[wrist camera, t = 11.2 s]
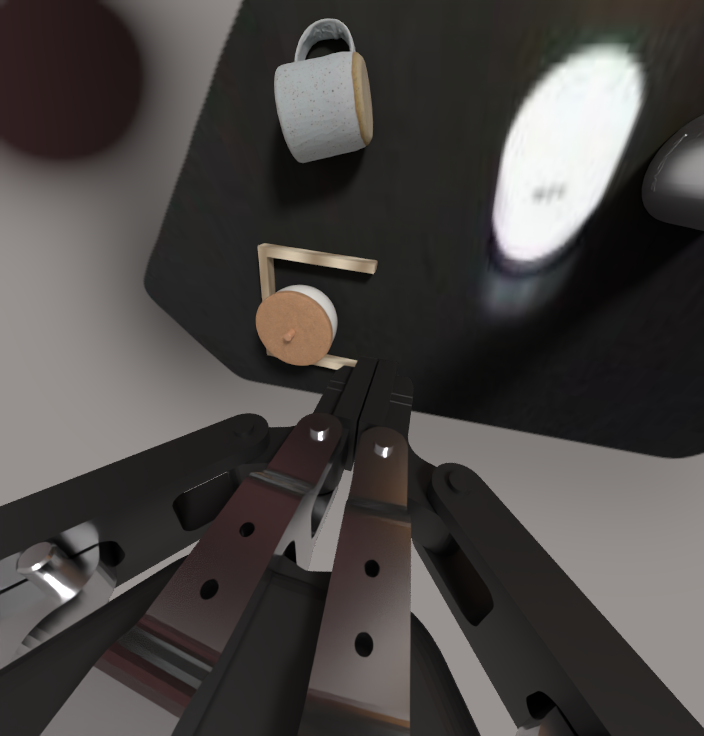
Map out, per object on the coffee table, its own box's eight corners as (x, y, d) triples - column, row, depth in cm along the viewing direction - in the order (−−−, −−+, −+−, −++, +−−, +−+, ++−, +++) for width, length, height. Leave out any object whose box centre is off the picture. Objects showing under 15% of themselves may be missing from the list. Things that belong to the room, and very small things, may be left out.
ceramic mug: (379, 149, 33) (365, 142, 27) (311, 165, 35) (284, 161, 29) (366, 12, 28) (345, -38, 21) (287, 40, 30) (248, 3, 24)
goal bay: (377, 260, 39) (374, 264, 38) (363, 368, 49) (360, 374, 48) (264, 243, 42) (257, 246, 40) (272, 349, 52) (266, 354, 50)
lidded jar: (295, 345, 50) (269, 376, 43) (268, 284, 45) (234, 306, 37) (354, 335, 46) (338, 367, 39) (332, 267, 41) (309, 288, 34)
